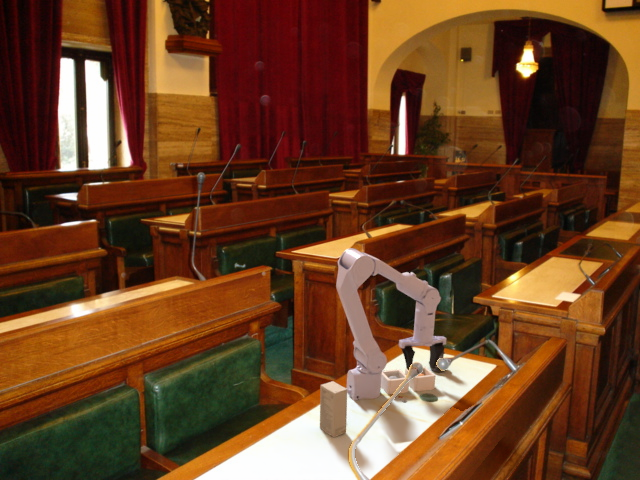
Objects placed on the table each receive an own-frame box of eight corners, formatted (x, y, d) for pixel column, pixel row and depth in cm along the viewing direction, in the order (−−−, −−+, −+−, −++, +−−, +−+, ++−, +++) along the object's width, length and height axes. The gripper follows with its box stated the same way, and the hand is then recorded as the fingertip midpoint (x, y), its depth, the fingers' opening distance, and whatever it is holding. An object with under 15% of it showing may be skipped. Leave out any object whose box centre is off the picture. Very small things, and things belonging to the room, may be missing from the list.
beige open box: (414, 392, 183) (415, 377, 182) (404, 382, 189) (405, 368, 188) (434, 389, 185) (435, 375, 184) (424, 380, 191) (425, 366, 190)
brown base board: (395, 411, 173) (396, 406, 173) (376, 389, 186) (376, 385, 186) (446, 404, 178) (447, 400, 178) (424, 384, 191) (425, 379, 191)
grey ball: (389, 392, 182) (390, 380, 181) (384, 386, 185) (385, 374, 184) (402, 391, 183) (403, 378, 182) (396, 385, 187) (397, 372, 186)
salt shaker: (445, 370, 201) (448, 335, 199) (447, 378, 196) (450, 342, 193) (427, 369, 202) (430, 334, 199) (428, 377, 196) (431, 341, 194)
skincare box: (346, 433, 161) (348, 389, 158) (332, 438, 158) (335, 393, 156) (331, 422, 166) (333, 380, 163) (318, 427, 163) (319, 384, 160)
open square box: (387, 395, 180) (388, 380, 179) (378, 385, 186) (379, 371, 185) (408, 392, 182) (409, 378, 181) (398, 383, 188) (399, 369, 187)
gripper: (407, 331, 177) (404, 376, 180) (453, 327, 181) (449, 371, 184) (397, 323, 183) (394, 366, 186) (441, 319, 188) (437, 362, 191)
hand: (420, 368), depth 186 cm, fingers open, 7 cm apart
